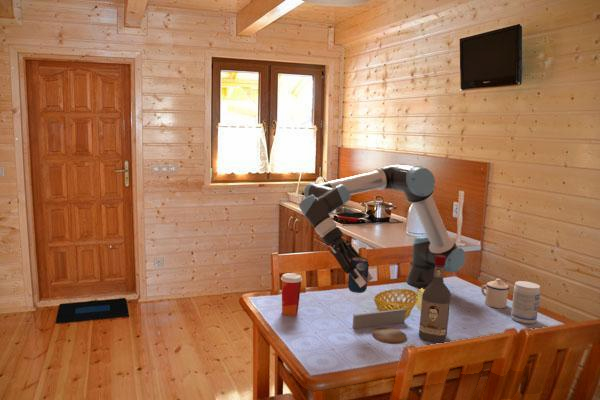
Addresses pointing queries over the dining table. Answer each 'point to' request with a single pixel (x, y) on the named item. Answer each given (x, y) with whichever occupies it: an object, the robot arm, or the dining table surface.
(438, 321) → the liquor
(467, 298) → the dining table surface
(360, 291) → the soda can
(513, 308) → the supplement tub
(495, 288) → the teacup with lid
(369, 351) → the dining table surface
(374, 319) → the low wall
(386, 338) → the walnut coaster
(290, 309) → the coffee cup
